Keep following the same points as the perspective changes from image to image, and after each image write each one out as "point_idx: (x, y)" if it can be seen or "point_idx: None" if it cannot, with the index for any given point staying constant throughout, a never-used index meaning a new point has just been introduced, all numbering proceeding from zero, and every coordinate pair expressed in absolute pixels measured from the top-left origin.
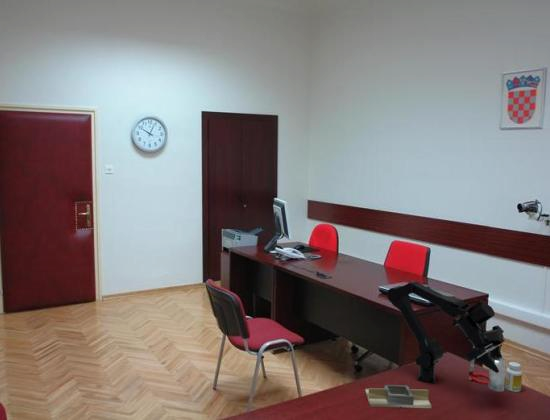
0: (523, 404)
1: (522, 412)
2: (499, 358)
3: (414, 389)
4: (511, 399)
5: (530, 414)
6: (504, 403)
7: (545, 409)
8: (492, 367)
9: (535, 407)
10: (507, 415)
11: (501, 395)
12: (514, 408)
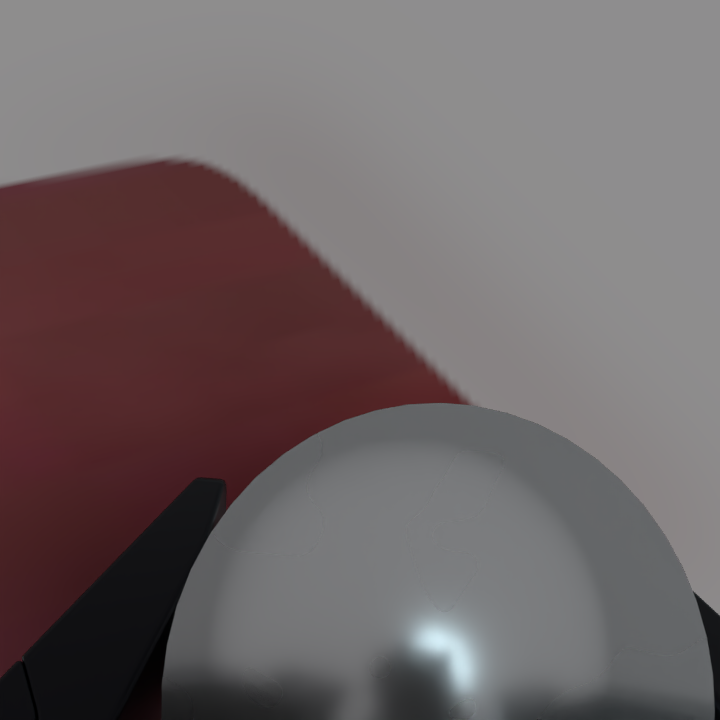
0: (119, 345)
1: (299, 308)
2: (310, 673)
3: None
4: (85, 470)
5: (286, 246)
6: (233, 494)
7: (84, 170)
8: None
9: (106, 245)
10: (459, 392)
11: (57, 586)
12: (271, 386)
